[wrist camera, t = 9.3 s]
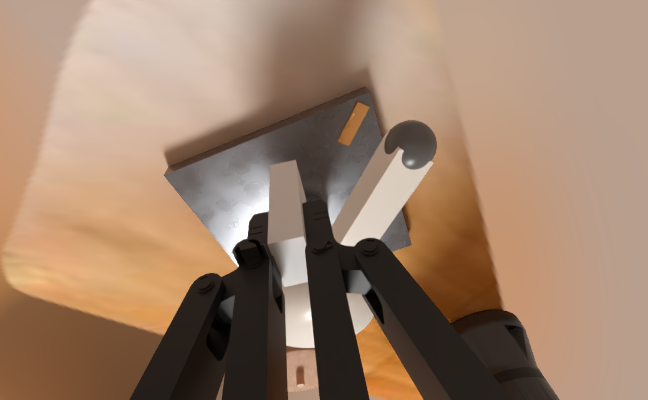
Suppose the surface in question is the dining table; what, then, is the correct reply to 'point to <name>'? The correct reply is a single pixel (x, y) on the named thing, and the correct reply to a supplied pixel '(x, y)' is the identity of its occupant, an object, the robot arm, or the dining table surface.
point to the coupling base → (277, 147)
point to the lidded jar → (301, 368)
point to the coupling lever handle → (368, 216)
